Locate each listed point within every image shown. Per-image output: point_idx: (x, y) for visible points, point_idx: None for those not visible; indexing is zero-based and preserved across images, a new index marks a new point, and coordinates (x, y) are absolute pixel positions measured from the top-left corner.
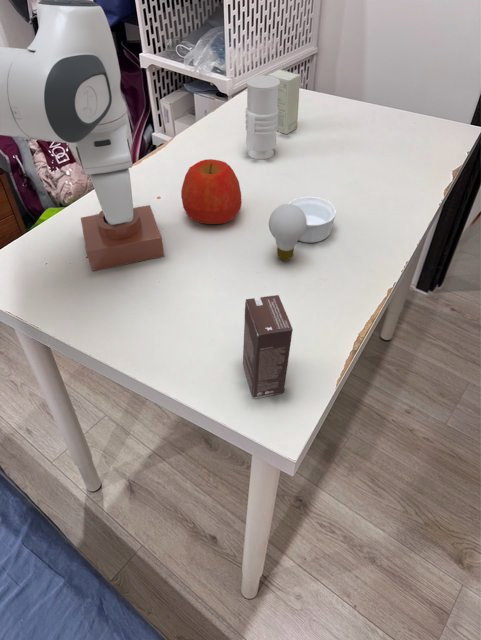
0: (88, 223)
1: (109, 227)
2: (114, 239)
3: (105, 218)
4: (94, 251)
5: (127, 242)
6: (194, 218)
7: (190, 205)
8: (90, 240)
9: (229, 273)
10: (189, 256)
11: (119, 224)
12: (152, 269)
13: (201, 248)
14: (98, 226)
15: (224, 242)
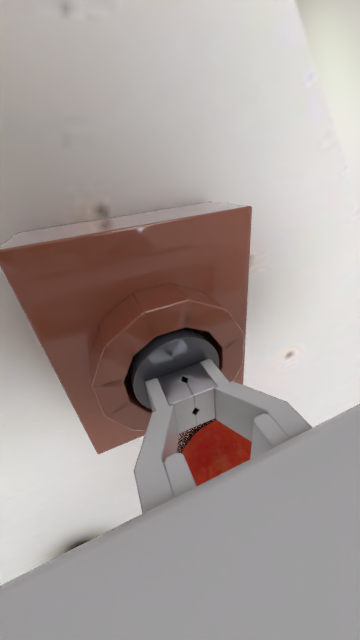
0: (206, 242)
1: (108, 365)
2: (92, 346)
3: (170, 342)
4: (10, 283)
5: (71, 388)
6: (193, 444)
7: (202, 480)
8: (89, 261)
9: (32, 508)
10: (91, 443)
11: (132, 386)
12: (39, 392)
13: (117, 452)
14: (135, 312)
15: (131, 475)
